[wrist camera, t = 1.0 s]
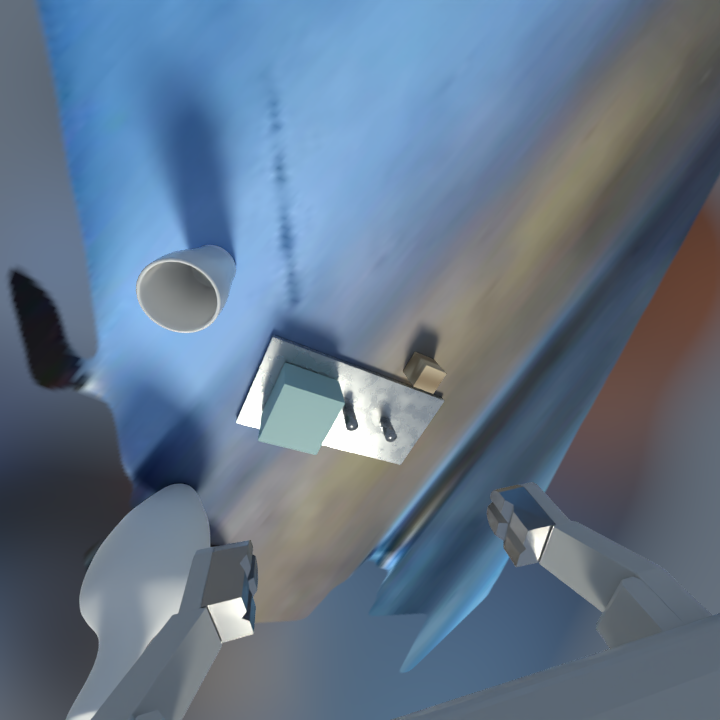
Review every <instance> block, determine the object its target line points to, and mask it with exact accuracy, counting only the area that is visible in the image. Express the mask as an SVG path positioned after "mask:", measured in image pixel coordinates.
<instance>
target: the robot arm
mask: <svg viewBox="0 0 720 720" xmlns="http://www.w3.org/2000/svg"><path fill="white" fill-rule="evenodd" d="M490 499H491V500H492V501H493V502H492V503H491V504H490V505H489V506H488V509H487V517H488V522H489V524H490V527H491V529H492V530H493V532H494V534H495V535H496V536H497V537H499V538H501V539H502V540H504V549H505V551H506V552H507V554H508V555H509V557H510V559H511V560H512V562H513V563H514V565H515V566H516V567H519V566H523V565H528V564H533V563H537V562H540V563H539V564H540V565H542V566H543V567H544V568H546V569H547V570H548V571H550V572H551V573H552V574H554V575H555V576H556V577H558V578H559V579H560V580H561V581H563V582H564V583H565V584H567V585H568V586H569V587H570V588H572V589H573V590H574V591H576V592H577V593H578V594H580V595H581V596H582V597H583V598H585V599H586V600H587V601H589V602H590V603H591V604H593V605H594V606H595V607H596V608H598V609H599V610H601V611H602V612H603V614H602V615H601V617H600V619H599V620H598V622H597V624H596V630H597V631H598V633H599V634H600V635H601V637H602V638H603V639H604V641H605V642H606V644H607V645H608V646H609V648H610V649H608V650H605V651H602V652H598V653H595V654H592V655H589V656H586V657H583V658H580V659H577V660H574V661H571V662H568V663H565V664H561V665H558V666H555V667H552V668H549V669H546V670H543V671H540V672H537V673H534V674H531V675H528V676H525V677H521V678H518V679H515V680H512V681H509V682H506V683H503V684H500V685H497V686H494V687H491V688H488V689H485V690H482V691H478V692H475V693H472V694H469V695H466V696H463V697H460V698H457V699H454V700H451V701H448V702H445V703H441V704H439V705H435V706H432V707H429V708H426V709H423V710H420V711H417V712H414V713H411V714H408V715H405V716H401V717H398V718H395V719H392V720H720V613H718V614H715V615H712V614H711V613H710V612H709V611H707V610H706V609H705V608H704V607H703V606H702V605H701V604H700V603H699V602H698V601H697V600H696V599H695V598H694V597H693V596H692V595H691V594H690V593H689V592H688V591H686V589H684V588H683V587H682V586H681V585H680V584H679V583H678V582H677V581H676V580H675V579H674V578H673V577H672V576H671V575H670V574H669V573H668V572H667V571H666V570H664V568H663V567H661V566H659V565H657V564H655V563H653V562H651V561H650V560H648V559H646V558H644V557H642V556H640V555H638V554H636V553H634V552H633V551H631V550H629V549H627V548H625V547H623V546H621V545H619V544H617V543H615V542H613V541H612V540H610V539H608V538H606V537H604V536H602V535H600V534H599V533H597V532H595V531H593V530H591V529H589V528H587V527H585V526H583V525H582V524H580V523H578V522H576V521H572V522H571V521H570V520H569V519H568V518H567V517H566V516H565V515H564V514H563V512H562V511H560V509H559V508H558V507H557V506H556V505H555V504H554V503H553V501H552V500H551V499H550V498H549V497H548V496H547V495H546V494H545V493H544V492H543V491H542V489H541V488H540V487H539V486H538V485H537V484H535V483H533V482H532V483H526V484H522V485H515V486H510V487H506V488H501V489H497V490H493V491H492V492H491V496H490ZM252 551H253V546H252V542H251V540H248V541H243V542H237V543H232V544H227V545H221V546H215V547H210V548H205V549H200V550H197V551H196V553H195V555H194V557H193V560H192V564H191V568H190V572H189V575H188V579H187V583H186V586H185V590H184V594H183V598H182V601H181V605H180V609H179V612H178V614H174V615H172V616H171V617H170V619H169V620H168V621H167V623H166V624H165V625H164V626H163V628H162V629H161V630H160V632H159V633H158V634H157V635H156V637H155V638H154V639H153V640H152V642H151V643H150V644H149V646H148V647H147V648H146V649H145V651H144V652H143V653H142V655H141V656H140V657H139V658H138V660H137V661H136V662H135V663H134V665H133V666H132V667H131V669H130V670H129V671H128V672H127V674H126V675H125V676H124V678H123V679H122V680H121V681H120V683H119V684H118V685H117V687H116V688H115V689H114V690H113V692H112V693H111V694H110V695H109V697H108V698H107V699H106V701H105V702H104V703H103V704H102V706H101V707H100V708H99V710H98V711H97V712H96V713H95V715H94V716H93V717H92V718H91V720H182V718H183V717H184V715H185V713H186V711H187V709H188V707H189V706H190V704H191V702H192V700H193V698H194V696H195V694H196V693H197V691H198V689H199V687H200V685H201V684H202V682H203V680H204V678H205V676H206V674H207V672H208V671H209V669H210V667H211V665H212V663H213V661H214V660H215V658H216V655H217V654H218V652H219V650H220V648H221V646H222V643H223V642H227V641H230V640H234V639H237V638H240V637H244V636H248V635H251V634H254V623H255V611H256V606H255V603H254V599H253V596H254V594H255V593H256V591H257V584H258V568H257V560H256V556H254V555H253V554H252Z"/></svg>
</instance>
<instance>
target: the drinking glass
mask: <svg viewBox="0 0 720 720" xmlns="http://www.w3.org/2000/svg"><path fill="white" fill-rule="evenodd" d="M235 274H236V265H235V262H234V260H233V258H232V256H231V255H230V254H229V253H228V252H227V251H226V250H225V249H223V248H221V247H219V246H216V245H203V246H201V247H198V248H192V249H186V250H180V251H175V252H172V253H169V254H167V255H164V256H162V257H160V258H158V259H157V260H155V261H153V262H152V263H150V264H149V265H147V266H146V267H145V268H144V269H143V270H142V272H141V273H140V275H139V277H138V280H137V284H136V294H137V298H138V301H139V304H140V306H141V308H142V309H143V311H144V312H145V313H146V315H147V316H148V317H149V318H150V319H151V320H152V321H154V322H155V323H156V324H158V325H160V326H161V327H163V328H166V329H168V330H171V331H174V332H180V333H191V332H197V331H200V330H202V329H205V328H206V327H208V326H209V325H211V324H212V323H213V322H214V320H215V319H216V318H217V317H218V315H219V314H220V313H221V311H222V310H223V308H224V306H225V304H226V302H227V299H228V296H229V292H230V288H231V285H232V281H233V279H234V277H235Z"/></svg>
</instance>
